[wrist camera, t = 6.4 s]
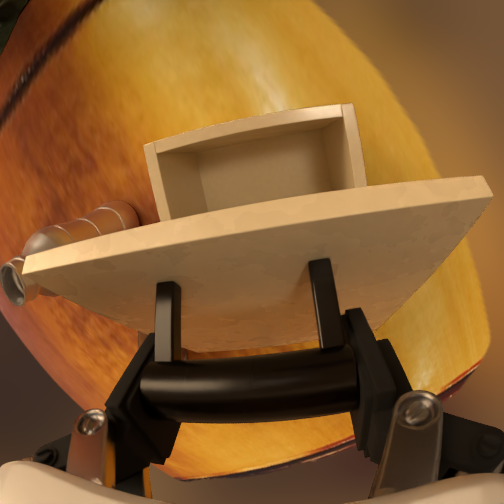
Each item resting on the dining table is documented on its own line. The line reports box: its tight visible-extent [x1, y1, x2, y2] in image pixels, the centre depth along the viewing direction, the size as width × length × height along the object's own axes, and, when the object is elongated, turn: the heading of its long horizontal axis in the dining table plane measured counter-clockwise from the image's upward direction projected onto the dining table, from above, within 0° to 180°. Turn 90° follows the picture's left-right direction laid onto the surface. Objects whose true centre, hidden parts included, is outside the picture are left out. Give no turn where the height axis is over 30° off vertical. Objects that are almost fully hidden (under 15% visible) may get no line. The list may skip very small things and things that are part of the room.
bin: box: [143, 103, 367, 222], centre depth 27 cm, size 18×16×12 cm
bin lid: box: [22, 176, 493, 423], centre depth 14 cm, size 19×16×5 cm
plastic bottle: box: [0, 201, 139, 306], centre depth 25 cm, size 6×7×20 cm
